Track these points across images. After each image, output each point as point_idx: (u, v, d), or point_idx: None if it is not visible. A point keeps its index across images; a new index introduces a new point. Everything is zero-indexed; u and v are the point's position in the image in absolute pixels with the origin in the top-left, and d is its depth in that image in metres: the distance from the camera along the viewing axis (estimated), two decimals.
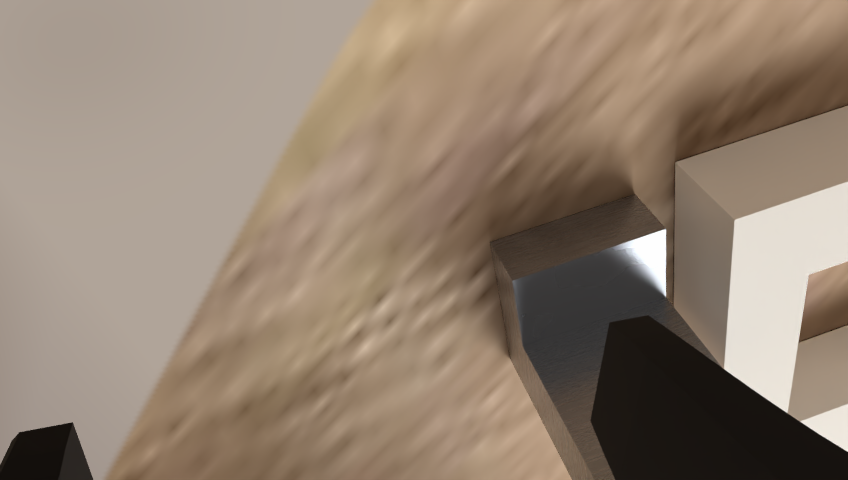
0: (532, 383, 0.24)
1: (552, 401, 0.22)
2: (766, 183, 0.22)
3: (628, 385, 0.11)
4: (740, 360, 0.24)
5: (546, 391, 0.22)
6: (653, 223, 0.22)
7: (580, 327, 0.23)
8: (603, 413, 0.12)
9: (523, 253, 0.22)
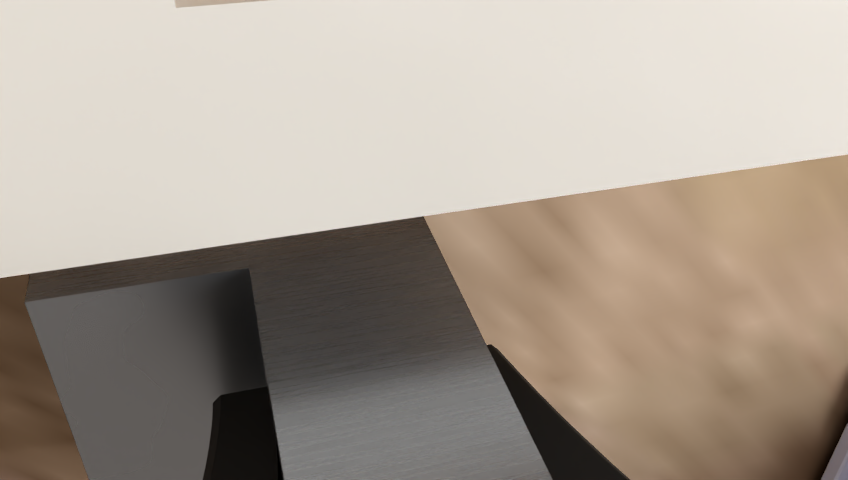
0: None
1: None
2: None
3: None
4: (470, 167, 0.09)
5: None
6: None
7: None
8: None
9: None
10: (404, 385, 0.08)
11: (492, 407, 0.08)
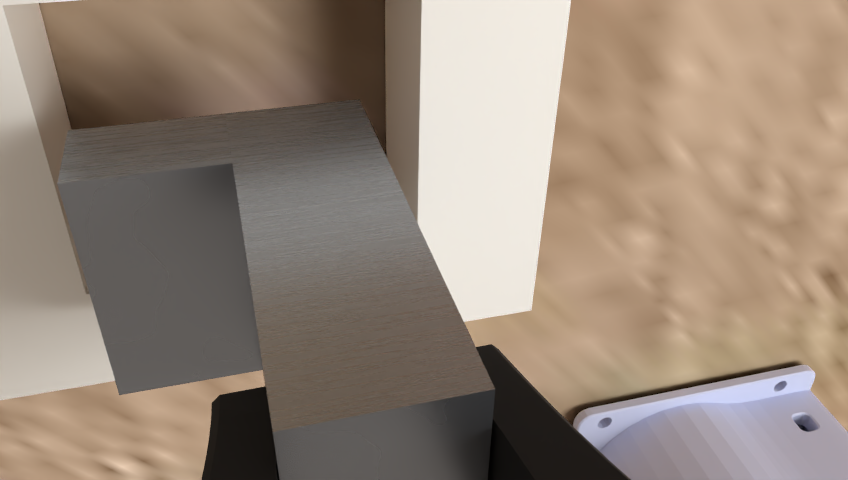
0: None
1: None
2: None
3: None
4: None
5: None
6: None
7: (252, 298, 0.14)
8: None
9: None
10: (346, 235, 0.11)
11: (411, 248, 0.11)
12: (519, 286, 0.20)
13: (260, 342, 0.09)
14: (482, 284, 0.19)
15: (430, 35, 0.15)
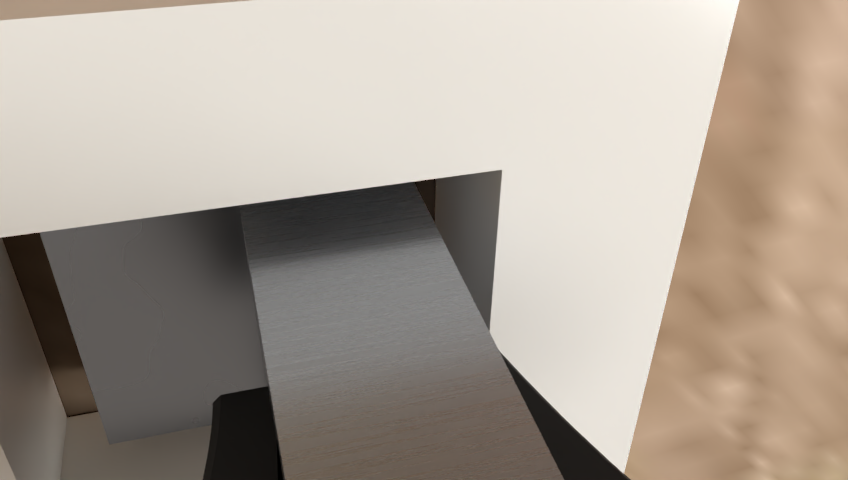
0: None
1: None
2: None
3: None
4: None
5: None
6: None
7: (258, 338, 0.13)
8: None
9: None
10: (372, 279, 0.09)
11: (450, 296, 0.09)
12: None
13: (276, 421, 0.08)
14: None
15: (509, 235, 0.11)
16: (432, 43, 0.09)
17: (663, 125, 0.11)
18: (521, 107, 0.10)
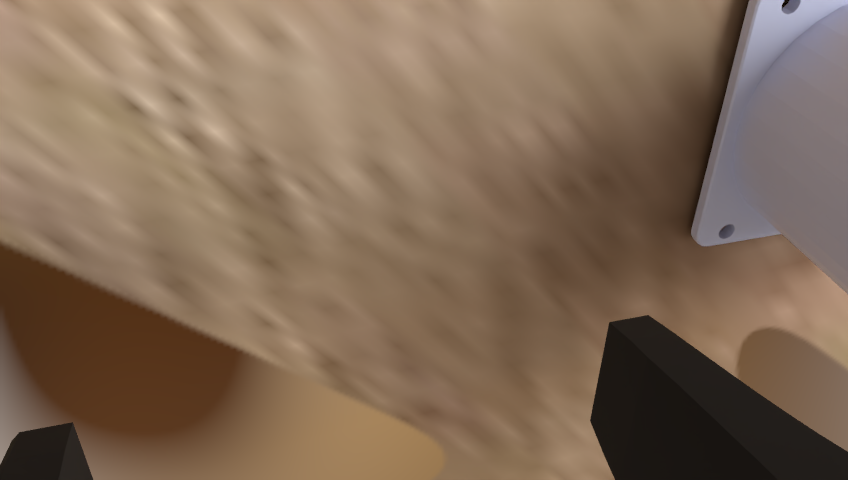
0: None
1: None
2: None
3: (628, 385, 0.11)
4: None
5: None
6: None
7: None
8: (603, 413, 0.12)
9: None
10: None
11: None
12: None
13: None
14: None
15: None
16: None
17: None
18: None
